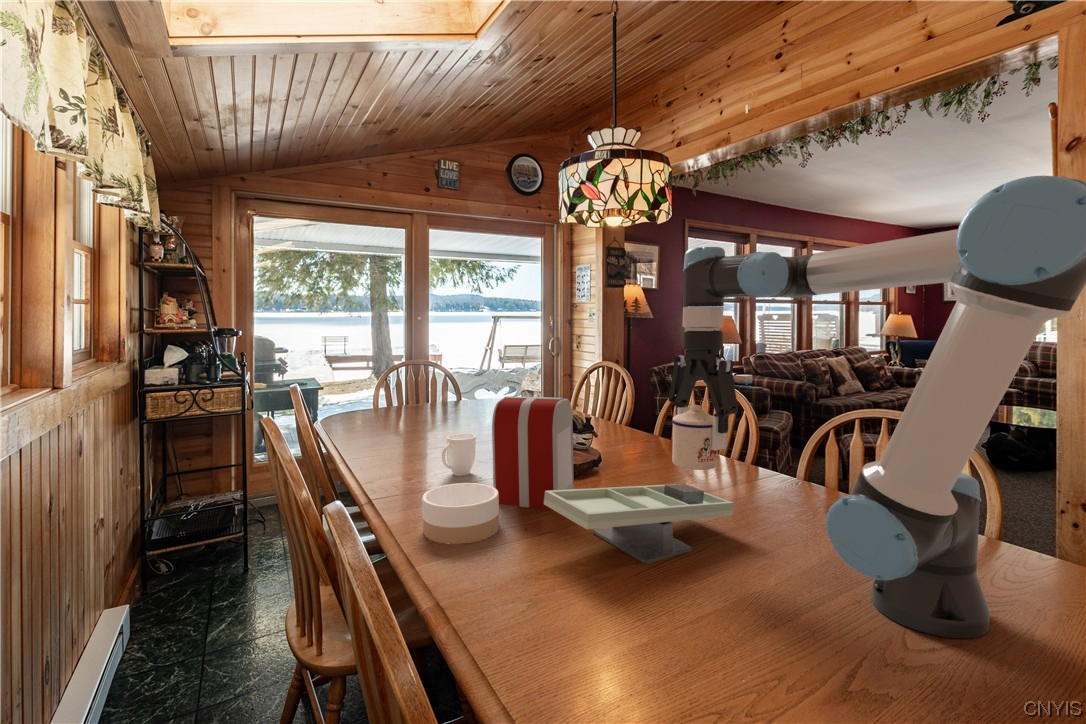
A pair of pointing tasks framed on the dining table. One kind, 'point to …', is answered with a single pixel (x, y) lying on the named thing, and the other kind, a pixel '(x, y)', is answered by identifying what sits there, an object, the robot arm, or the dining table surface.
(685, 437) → the teacup with lid
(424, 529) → the bowl
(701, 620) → the dining table surface
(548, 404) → the red striped block
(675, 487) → the block
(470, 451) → the mug
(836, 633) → the dining table surface
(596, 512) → the divided tray
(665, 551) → the fulcrum
